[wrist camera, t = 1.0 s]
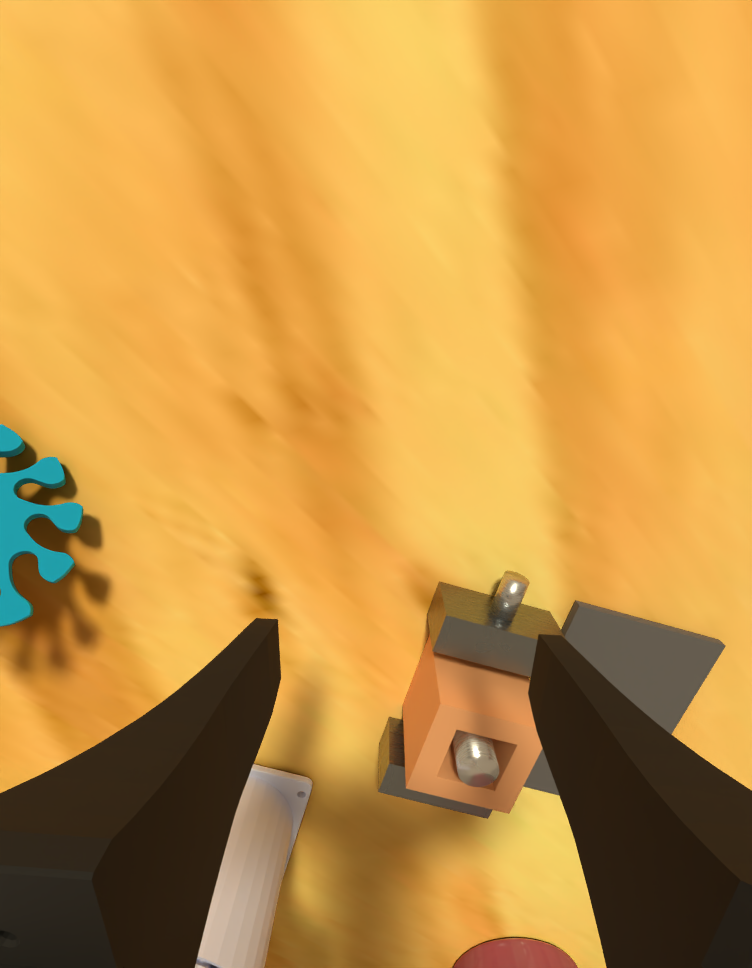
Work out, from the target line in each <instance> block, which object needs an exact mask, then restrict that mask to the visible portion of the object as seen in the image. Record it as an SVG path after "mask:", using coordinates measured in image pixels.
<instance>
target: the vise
mask: <svg viewBox="0 0 752 968" xmlns="http://www.w3.org/2000/svg"><path fill="white" fill-rule="evenodd" d="M528 586H529V581H528V579H527V578H525V577H524V576H522V575H521V574H518V573H516V572H513V571H505V573H504V575H503V577H502V580H501V582H500V585H499V587H498V589H497V592H496V594H495V597H494V596H490V595H486V594H483V593H479V592H475V591H472V590H468V589H464V588H461V587H457V586H453V585H450V584H446V583H442V582H439V584H438V586H437V589H436V592H435V595H434V597H433V600H432V603H431V605H430V608H429V611H428V613H427V617H428V624H429V631H430V638H431V645H432V651H433V652H437V653H440V654H444V655H448V656H452V657H456V658H459V659H463V660H467V661H471V662H475V663H479V664H482V665H486V666H490V667H494V668H498V669H501V670H505V671H509V672H513V673H517V674H520V675H524V676H528V677H531V673H532V668H533V662H534V657H535V651H536V646H537V640H538V635H539V634H547V635H561V636H563V637H564V638H565V636H564V635H563V633H562V631H561V630H560V628H559V626H558V625H557V623H556V621H555V620H554V618H553V616H552V615H551V613H550V612H549V611H545V610H542V609H538V608H534V607H531V606H527V605H523V604H521V602H522V599H523V597H524V595H525V592H526V590H527V588H528ZM565 639H566V638H565ZM452 740H453V747H454V753H455V759H456V766H457V772H458V776H459V778H460V780H461V781H462V782H463V783H465V784H467V785H469V786H473V787H483V786H487V785H489V784H491V783H492V782H494V781H495V780H496V779H497V777H498V775H499V766H498V762H497V758H496V754H495V750H494V746H493V742H492V739H491V738H488V737H484V736H480V735H476V734H472V733H468V732H464V731H461V730H456V732H455V735H454V737H453V739H452ZM378 792H380V793H384V794H389V795H393V796H397V797H401V798H405V799H409V800H413V801H417V802H421V803H426V804H430V805H434V806H438V807H442V808H446V809H450V810H454V811H459V812H463V813H467V814H471V815H475V816H479V817H483V818H487V819H488V818H489V816H490V813H491V811H492V809H488V808H484V807H480V806H476V805H472V804H468V803H463V802H459V801H455V800H451V799H447V798H443V797H439V796H435V795H431V794H427V793H422V792H418V791H414V790H410V789H406V778H405V752H404V725H403V720H399V719H395V718H391V717H389V719H388V721H387V724H386V727H385V730H384V732H383V735H382V738H381V740H380V743H379V780H378Z"/></svg>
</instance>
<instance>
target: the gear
mask: <svg viewBox="0 0 752 968" xmlns="http://www.w3.org/2000/svg"><path fill="white" fill-rule="evenodd" d="M24 449H25V445H24V442H23V440H22V439H21V438H20V436H18V435H17V434H16V433H15V432H14V431H12V430H11V429H9V428H7V427H6V426H4V425H2V424H1V425H0V457H13V456H17V455H19V454H20V453H22V452H23V450H24ZM27 483H35V484H38V485H41V486H44V487H46V488H52V489H53V488H59V487H62V486H63V485H65V484H66V479H65V475H64V471H63V469H62V466H61V464H60V462H59V461H58V459H57V458H55V457H47V458H43V459H41V460H40V461H38V462H37V463H36V464H34V465H33V466H31V467H29V468H27V469H24V470H21V471H17V472H12V473H0V589H1V595H0V626H8V625H12V624H15V623H18V622H20V621H23V620H25V619H27V618H29V617H30V616H32V615H33V606H32V604H31V603H30V602H29V601H28V600H27V599H25V598H24V597H23V596H22V595H21V594H20V593H19V592H18V590H17V589H16V587H15V585H14V582H13V576H12V564H13V561H14V560H15V559H16V558H17V557H18V556H20V555H23V554H34V555H36V556H37V558H38V568H39V573H40V575H41V576H42V577H43V578H44V579H45V580H47V581H48V582H51V583H57V582H58V581H60V580H61V579H63V578H64V577H65V576H66V575H67V574H68V573H69V572H70V571H71V569H72V568H73V567H74V566H75V563H74V561H73V559H72V558H71V557H70V556H69V555H68V554H66V553H62V552H55V551H51V550H48V549H46V548H44V547H42V546H40V545H39V544H37V543H36V542H35V541H34V540H33V539H32V538H31V537H30V536H29V534H28V533H27V526H28V524H29V522H30V521H32V520H33V519H35V518H39V517H44V518H48V519H49V520H51V521H52V522H53V523H54V525H55V526H56V527H57V528H58V529H59V530H60V531H62V532H65V533H76V532H77V531H78V529H79V528H80V525H81V523H82V518H83V507H82V506H81V505H79V504H77V503H72V502H70V503H64V504H60V505H53V506H48V505H38V504H34V503H31V502H28V501H25V500H22V499H20V498H18V497H17V491H18V489H19V488H20V487H21V486H22V485H24V484H27Z"/></svg>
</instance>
